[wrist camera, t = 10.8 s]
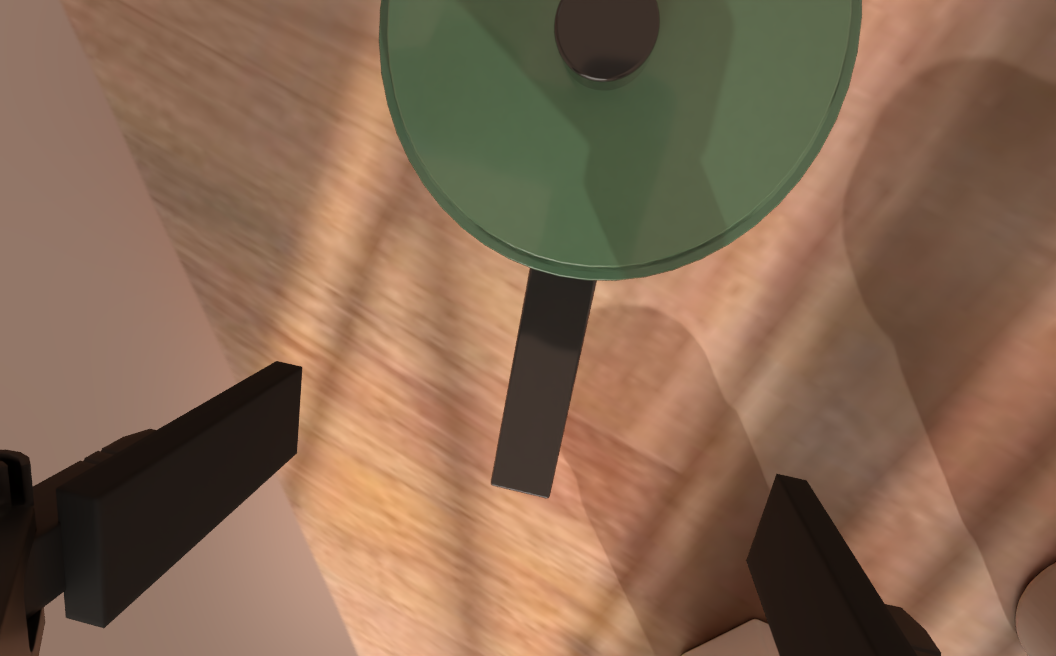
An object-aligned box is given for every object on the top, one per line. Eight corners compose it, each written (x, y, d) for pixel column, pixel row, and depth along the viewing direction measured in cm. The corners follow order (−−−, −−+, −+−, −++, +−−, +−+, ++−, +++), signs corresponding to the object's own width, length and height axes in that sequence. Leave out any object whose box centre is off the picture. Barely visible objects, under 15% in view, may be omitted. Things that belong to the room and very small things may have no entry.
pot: (423, 376, 26) (302, 508, 16) (488, -93, 21) (370, -361, 11) (669, 431, 25) (712, 609, 15) (800, -46, 20) (1010, -289, 10)
